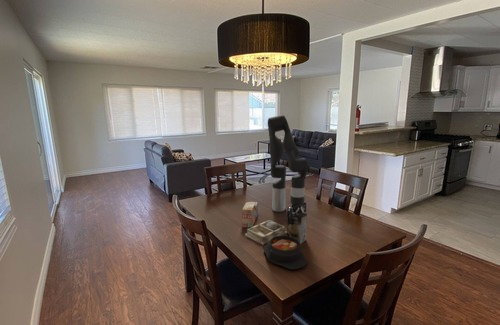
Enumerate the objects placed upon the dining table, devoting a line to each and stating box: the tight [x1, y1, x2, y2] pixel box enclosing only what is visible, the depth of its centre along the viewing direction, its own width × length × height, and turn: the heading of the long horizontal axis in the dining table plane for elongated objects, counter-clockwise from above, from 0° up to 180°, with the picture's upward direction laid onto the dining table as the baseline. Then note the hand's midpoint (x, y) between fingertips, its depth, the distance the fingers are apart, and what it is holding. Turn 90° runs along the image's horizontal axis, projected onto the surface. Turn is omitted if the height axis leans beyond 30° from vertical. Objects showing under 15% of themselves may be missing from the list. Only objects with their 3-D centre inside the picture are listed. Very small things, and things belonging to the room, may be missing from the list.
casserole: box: [263, 234, 308, 270], centre depth 126 cm, size 25×19×8 cm
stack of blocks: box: [241, 201, 259, 228], centre depth 169 cm, size 21×6×12 cm, turn 168°
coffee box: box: [286, 212, 308, 244], centre depth 143 cm, size 9×6×16 cm
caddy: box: [244, 219, 287, 246], centre depth 150 cm, size 20×15×5 cm
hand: (296, 222), depth 142 cm, fingers open, 8 cm apart
